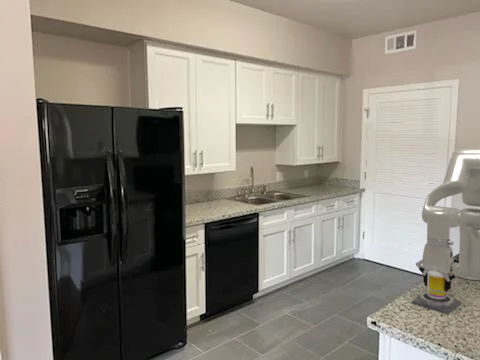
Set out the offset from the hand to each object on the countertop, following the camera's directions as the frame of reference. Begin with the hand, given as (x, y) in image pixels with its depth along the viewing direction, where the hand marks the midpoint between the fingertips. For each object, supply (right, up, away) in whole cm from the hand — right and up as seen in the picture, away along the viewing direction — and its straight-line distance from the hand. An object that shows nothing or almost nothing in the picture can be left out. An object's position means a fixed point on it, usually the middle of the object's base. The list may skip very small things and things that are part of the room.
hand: (436, 287), depth 141 cm
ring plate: (0, -6, +1) cm, 6 cm away
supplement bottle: (0, -4, 0) cm, 4 cm away
